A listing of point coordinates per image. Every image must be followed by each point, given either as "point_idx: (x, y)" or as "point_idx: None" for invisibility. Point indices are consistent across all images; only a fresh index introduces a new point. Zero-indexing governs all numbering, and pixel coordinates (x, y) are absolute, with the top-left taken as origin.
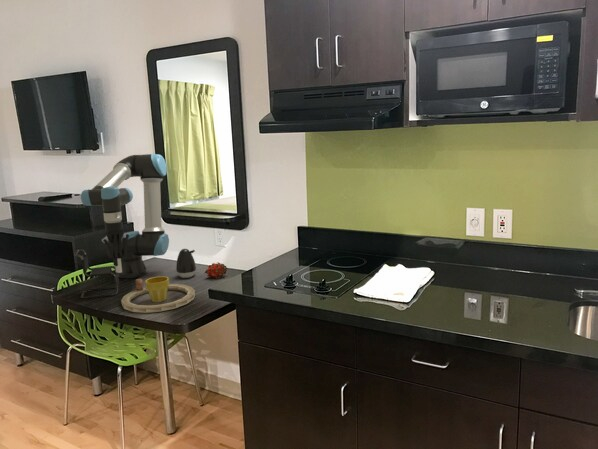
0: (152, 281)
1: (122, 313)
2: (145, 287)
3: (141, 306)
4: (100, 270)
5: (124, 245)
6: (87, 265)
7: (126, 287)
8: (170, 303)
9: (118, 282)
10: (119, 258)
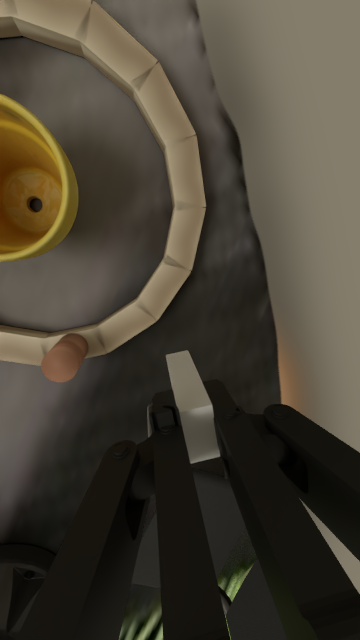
0: (10, 252)
1: (225, 173)
2: (40, 358)
3: (161, 107)
4: None
5: (90, 589)
6: (247, 603)
7: (90, 457)
8: (28, 3)
9: None
10: (188, 417)
